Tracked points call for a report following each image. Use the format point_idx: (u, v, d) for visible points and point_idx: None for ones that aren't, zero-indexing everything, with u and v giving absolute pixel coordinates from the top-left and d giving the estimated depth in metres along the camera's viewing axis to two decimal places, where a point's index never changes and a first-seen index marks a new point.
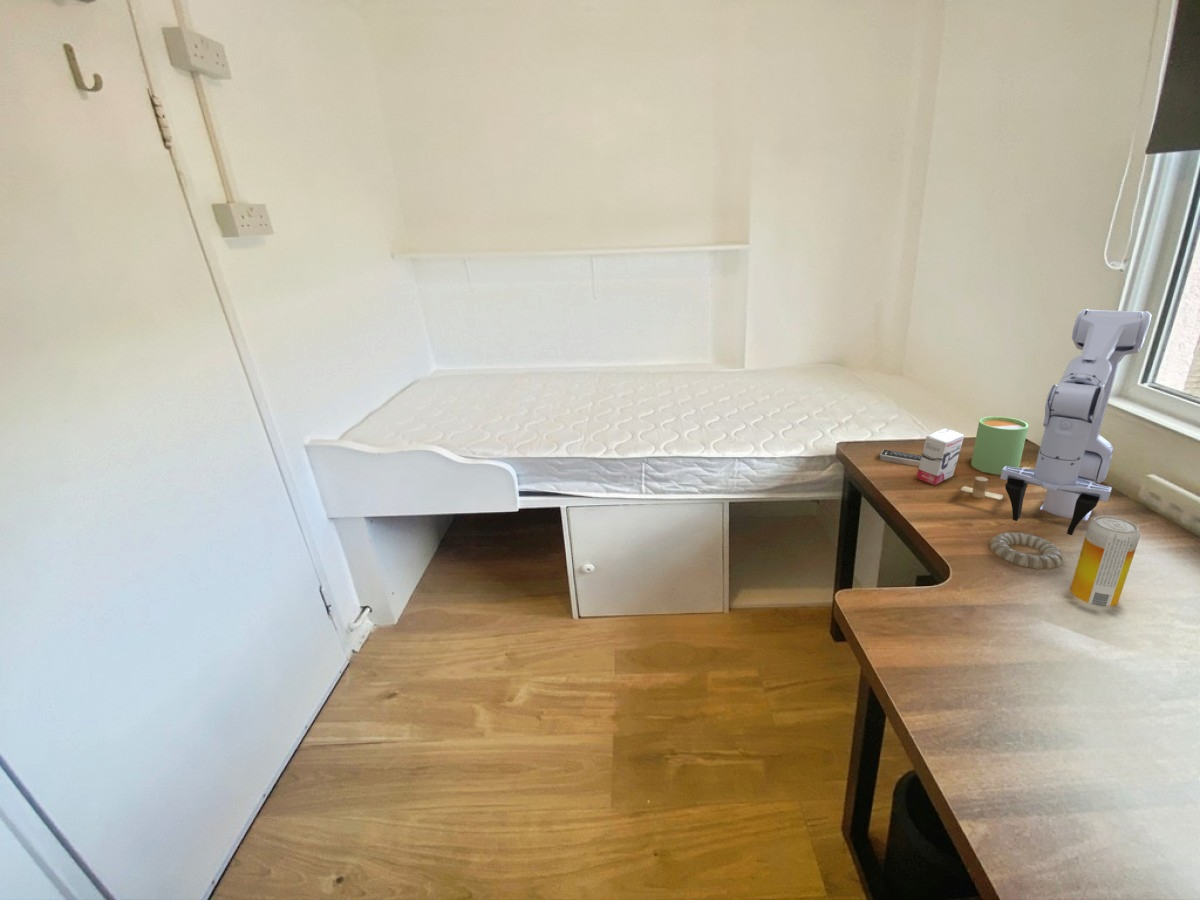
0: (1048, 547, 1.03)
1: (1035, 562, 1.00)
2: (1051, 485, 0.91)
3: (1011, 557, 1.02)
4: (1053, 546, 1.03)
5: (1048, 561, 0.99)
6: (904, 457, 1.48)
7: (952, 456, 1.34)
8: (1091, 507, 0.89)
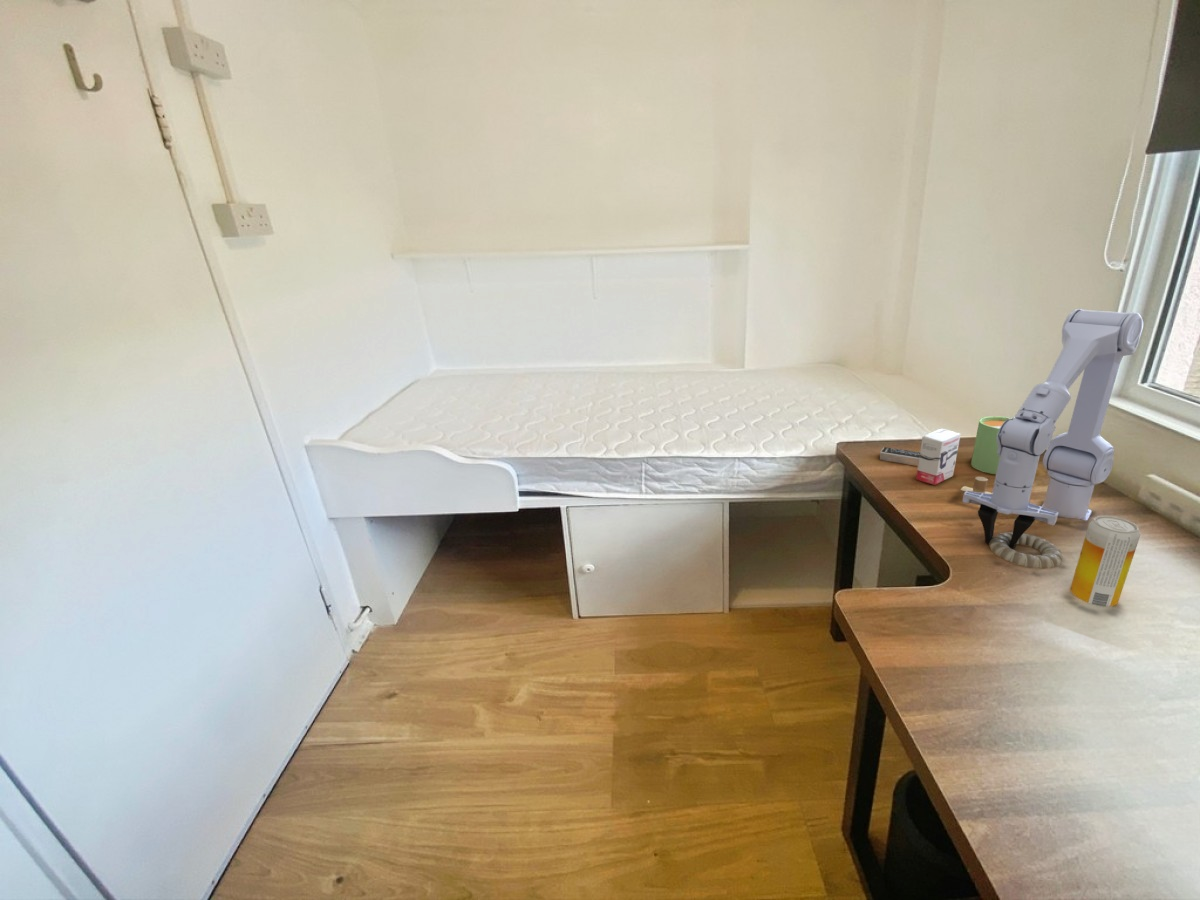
0: (1048, 547, 1.03)
1: (1034, 562, 1.00)
2: (1005, 509, 1.02)
3: (1011, 557, 1.02)
4: (1053, 546, 1.03)
5: (1048, 561, 0.99)
6: (904, 454, 1.47)
7: (950, 455, 1.35)
8: (1027, 526, 1.01)
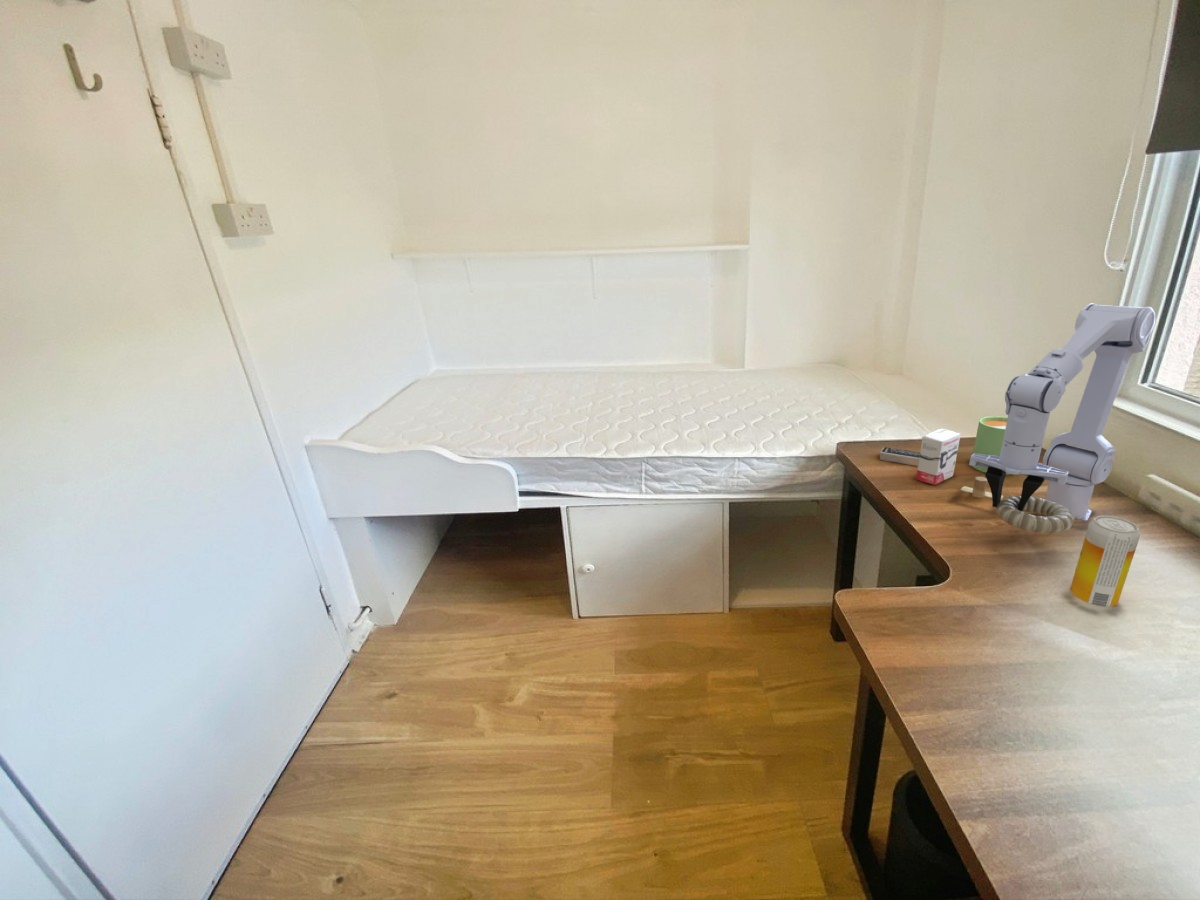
0: (1057, 509, 1.00)
1: (1044, 523, 0.97)
2: (1013, 470, 0.99)
3: (1019, 519, 0.99)
4: (1062, 508, 1.00)
5: (1058, 522, 0.96)
6: (904, 454, 1.47)
7: (950, 455, 1.35)
8: (1036, 487, 0.98)
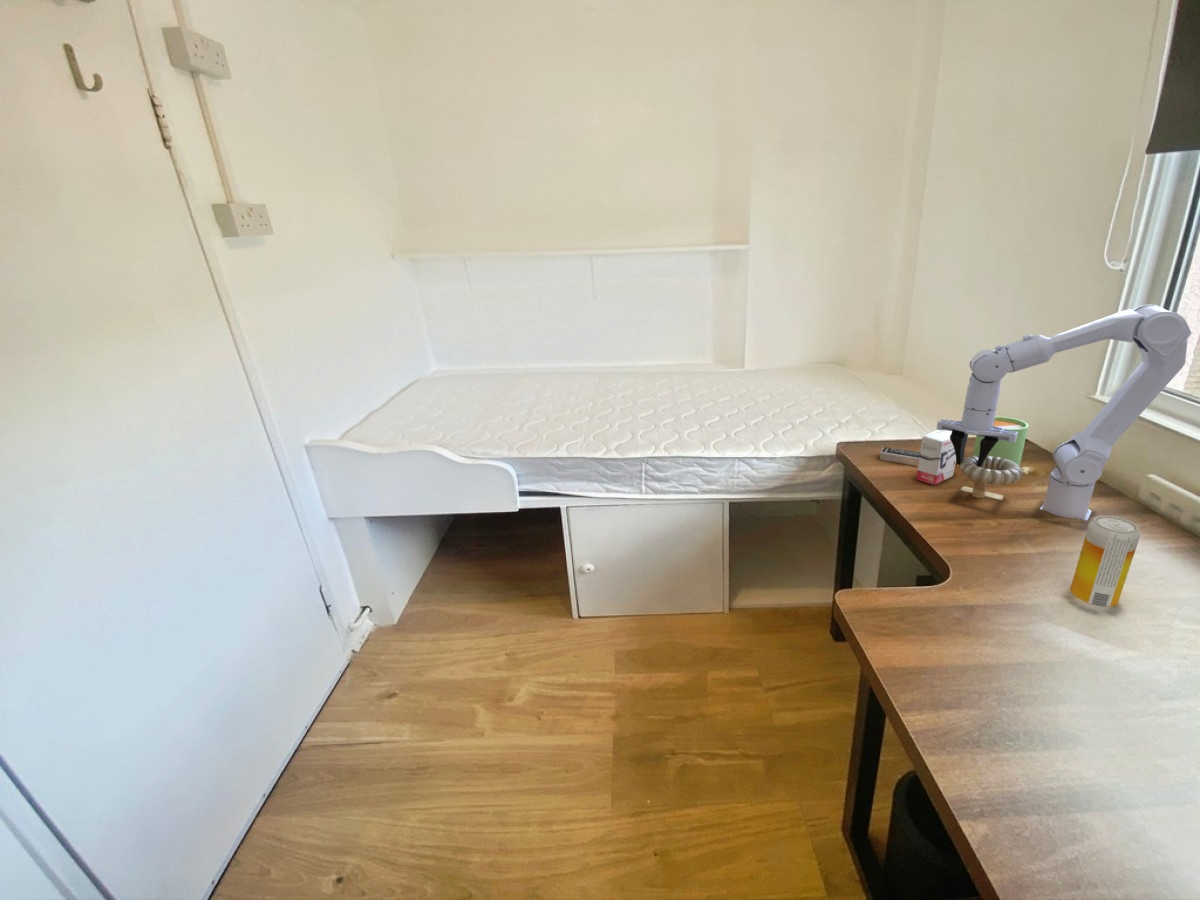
0: (1009, 464, 1.18)
1: (997, 475, 1.15)
2: (972, 431, 1.17)
3: (977, 472, 1.17)
4: (1014, 463, 1.18)
5: (1009, 474, 1.15)
6: (904, 454, 1.47)
7: (950, 455, 1.35)
8: (991, 445, 1.16)
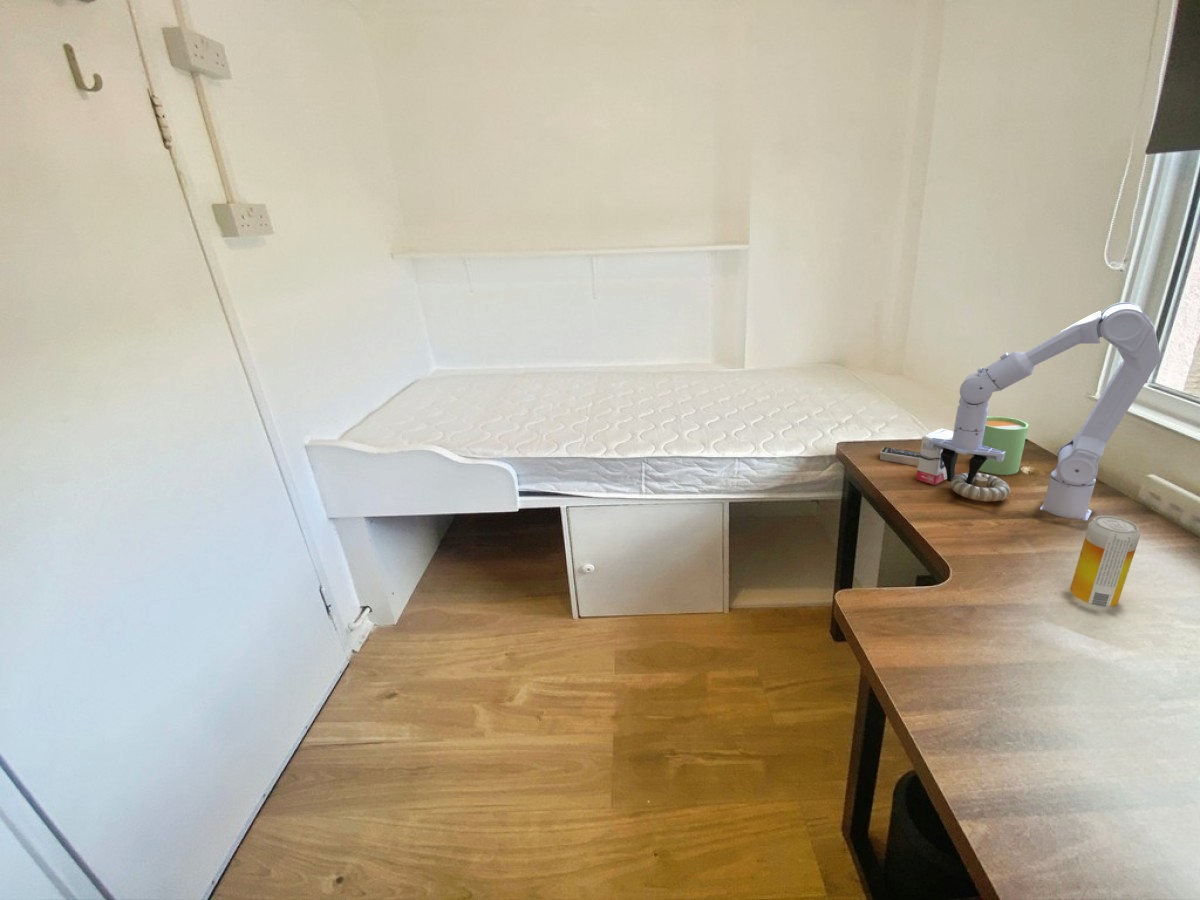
0: (998, 482, 1.24)
1: (985, 493, 1.20)
2: (962, 450, 1.22)
3: (966, 490, 1.22)
4: (1002, 481, 1.23)
5: (996, 491, 1.20)
6: (904, 454, 1.47)
7: None
8: (979, 464, 1.21)
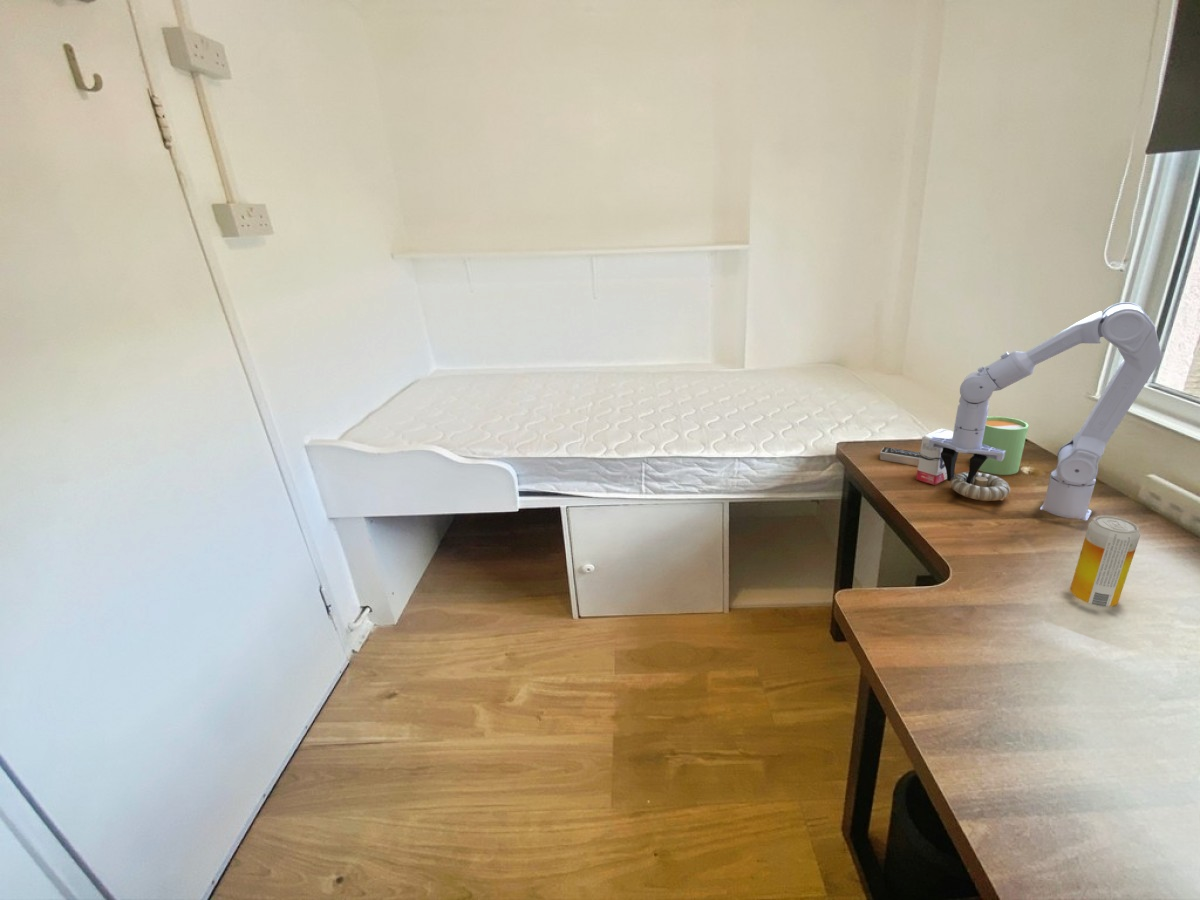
0: (998, 481, 1.23)
1: (985, 492, 1.20)
2: (962, 449, 1.22)
3: (967, 489, 1.22)
4: (1002, 480, 1.23)
5: (996, 491, 1.20)
6: (904, 454, 1.47)
7: None
8: (980, 463, 1.21)
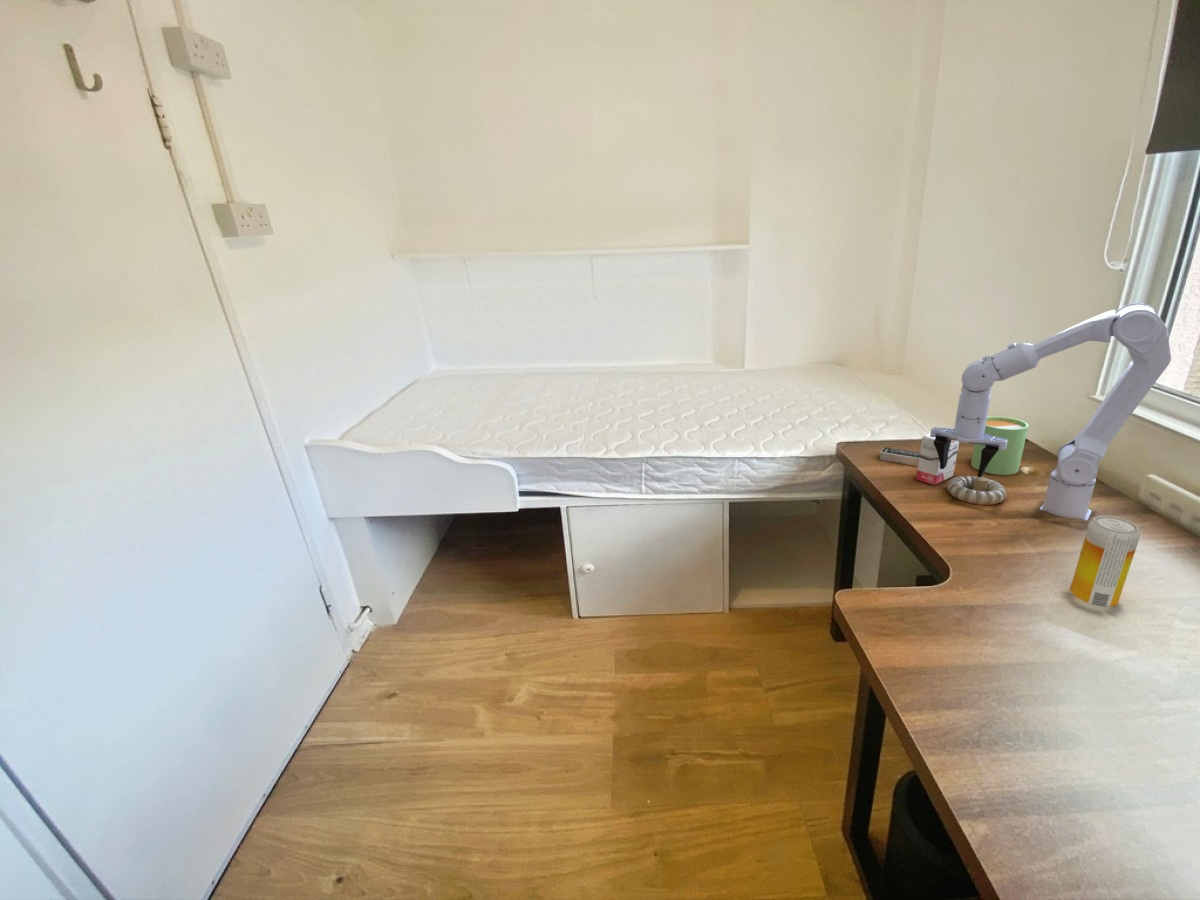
0: (994, 485, 1.24)
1: (982, 496, 1.21)
2: (964, 439, 1.21)
3: (963, 493, 1.23)
4: (998, 484, 1.24)
5: (992, 495, 1.21)
6: (904, 454, 1.47)
7: (950, 455, 1.35)
8: (992, 454, 1.19)
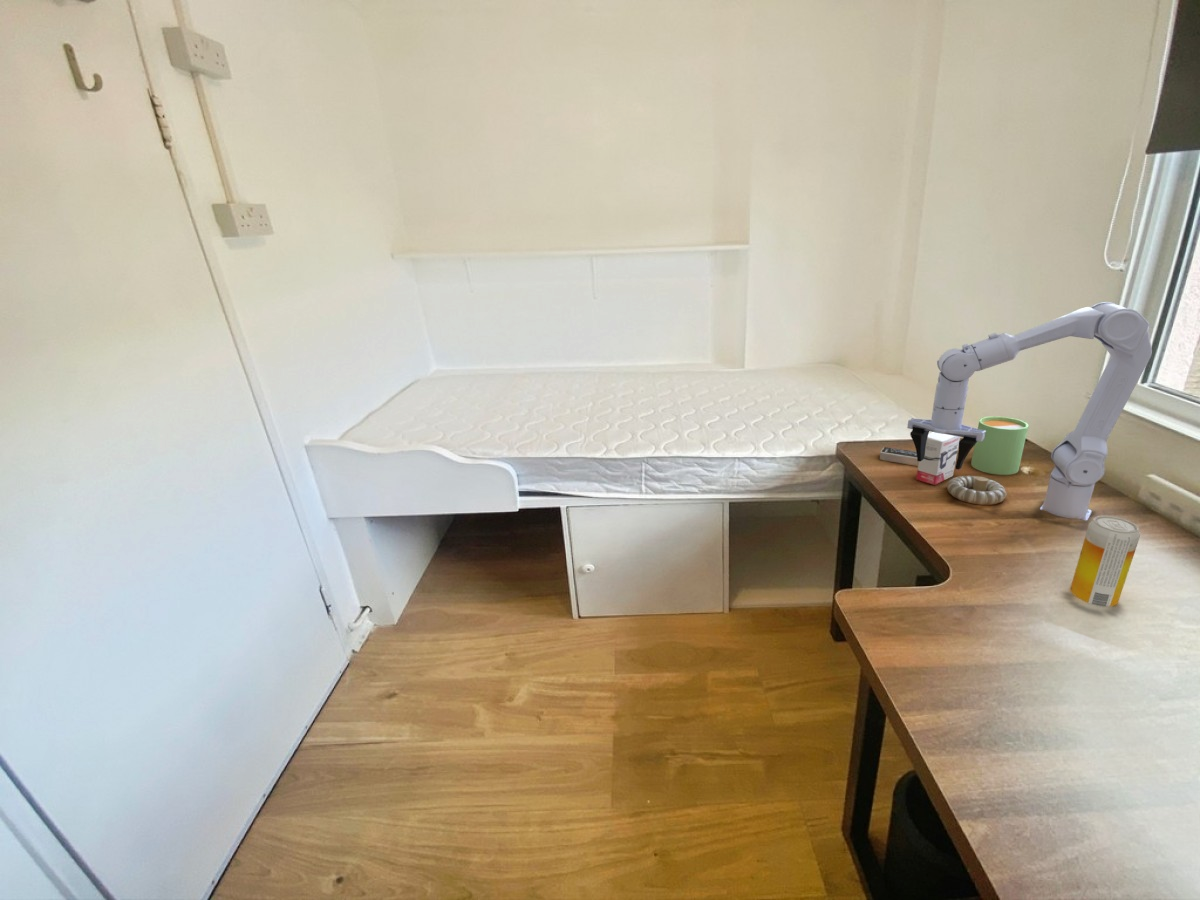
0: (994, 485, 1.24)
1: (982, 496, 1.21)
2: (941, 430, 1.18)
3: (963, 493, 1.23)
4: (998, 484, 1.24)
5: (992, 495, 1.21)
6: (904, 454, 1.47)
7: (950, 455, 1.35)
8: (969, 446, 1.15)
